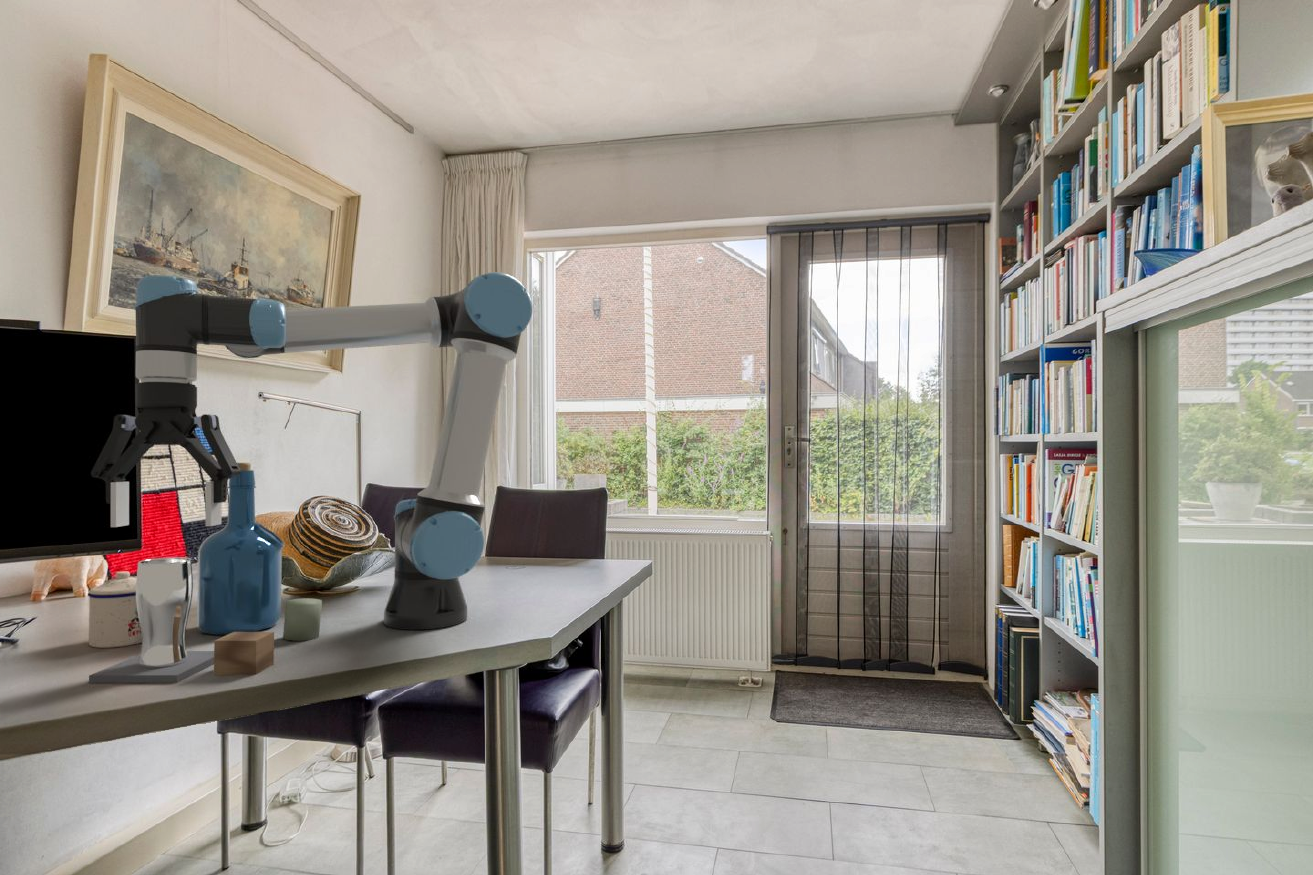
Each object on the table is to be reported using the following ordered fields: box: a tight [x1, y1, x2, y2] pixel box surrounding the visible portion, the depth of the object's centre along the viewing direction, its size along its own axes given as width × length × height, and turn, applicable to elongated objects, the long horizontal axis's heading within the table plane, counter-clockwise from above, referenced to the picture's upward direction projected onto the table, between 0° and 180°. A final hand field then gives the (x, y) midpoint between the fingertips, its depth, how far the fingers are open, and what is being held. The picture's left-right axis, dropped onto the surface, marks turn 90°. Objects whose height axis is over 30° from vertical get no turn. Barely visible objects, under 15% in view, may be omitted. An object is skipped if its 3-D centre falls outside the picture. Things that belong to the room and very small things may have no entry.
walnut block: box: [213, 631, 275, 676], centre depth 106 cm, size 6×5×5 cm
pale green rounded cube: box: [282, 597, 323, 642], centre depth 124 cm, size 6×6×6 cm
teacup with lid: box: [87, 570, 142, 649], centre depth 122 cm, size 12×9×12 cm
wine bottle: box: [196, 462, 285, 636], centre depth 131 cm, size 14×13×30 cm
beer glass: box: [135, 556, 194, 668], centre depth 106 cm, size 7×7×15 cm
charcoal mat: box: [88, 650, 214, 684], centre depth 105 cm, size 12×12×1 cm
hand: (166, 525), depth 106 cm, fingers open, 13 cm apart
